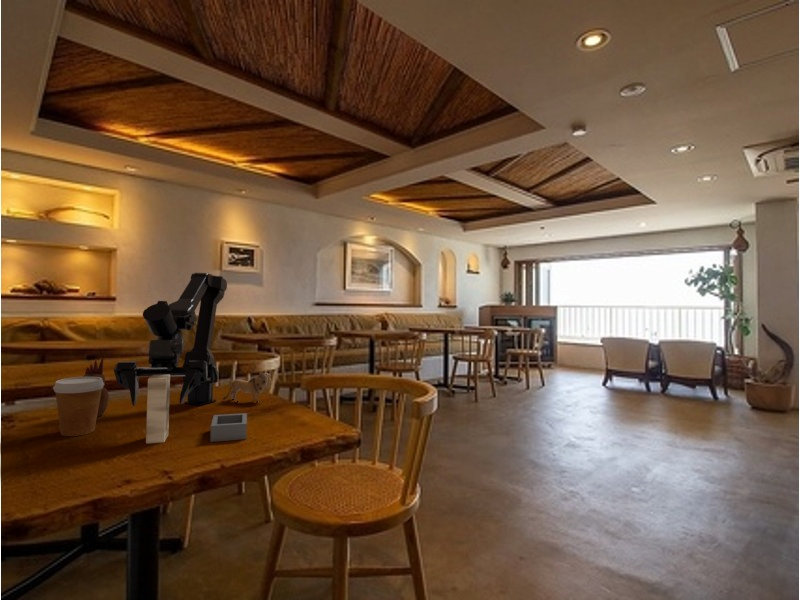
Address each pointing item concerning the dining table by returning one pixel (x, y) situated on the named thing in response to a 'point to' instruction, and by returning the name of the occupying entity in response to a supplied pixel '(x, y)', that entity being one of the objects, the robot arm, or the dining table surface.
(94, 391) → the disposable coffee cup
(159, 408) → the slat
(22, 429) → the dining table surface
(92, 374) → the wooden figurine
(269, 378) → the lion figurine
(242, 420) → the end cap
